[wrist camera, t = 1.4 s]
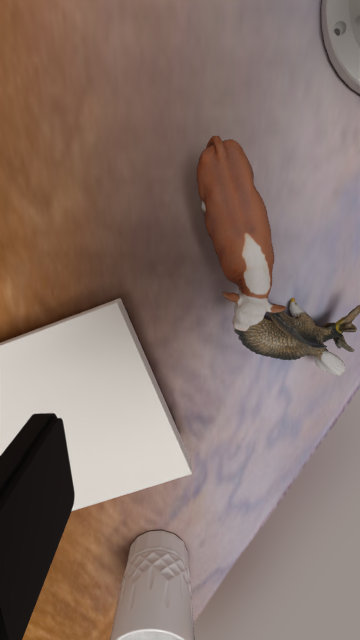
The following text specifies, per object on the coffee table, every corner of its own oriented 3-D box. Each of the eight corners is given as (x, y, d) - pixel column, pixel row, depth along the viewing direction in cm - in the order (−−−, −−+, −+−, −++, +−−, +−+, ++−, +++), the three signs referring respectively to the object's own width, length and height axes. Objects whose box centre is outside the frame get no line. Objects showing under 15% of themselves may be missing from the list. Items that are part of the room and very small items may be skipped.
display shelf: (129, 287, 30) (116, 302, 24) (189, 431, 34) (191, 473, 28) (-45, 352, 31) (-96, 381, 26) (33, 481, 35) (5, 531, 30)
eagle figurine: (345, 269, 28) (245, 270, 26) (391, 335, 24) (274, 341, 22) (308, 326, 34) (225, 330, 32) (340, 388, 29) (244, 395, 28)
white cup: (202, 536, 38) (210, 643, 28) (178, 584, 40) (177, 698, 30) (137, 517, 37) (122, 620, 27) (116, 566, 39) (95, 678, 29)
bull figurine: (219, 314, 30) (233, 345, 22) (187, 159, 27) (190, 132, 19) (266, 304, 30) (296, 332, 22) (240, 145, 26) (266, 112, 19)
